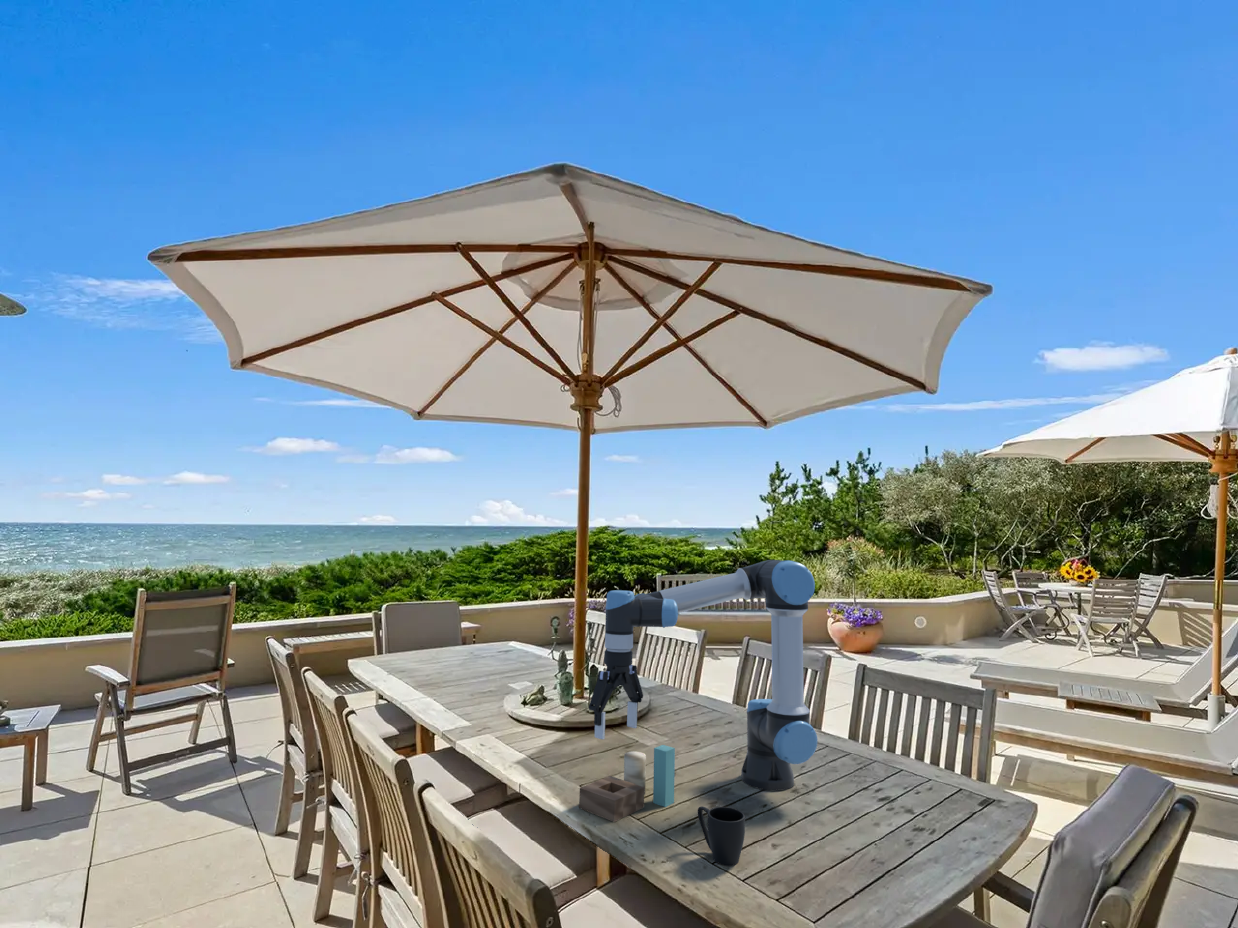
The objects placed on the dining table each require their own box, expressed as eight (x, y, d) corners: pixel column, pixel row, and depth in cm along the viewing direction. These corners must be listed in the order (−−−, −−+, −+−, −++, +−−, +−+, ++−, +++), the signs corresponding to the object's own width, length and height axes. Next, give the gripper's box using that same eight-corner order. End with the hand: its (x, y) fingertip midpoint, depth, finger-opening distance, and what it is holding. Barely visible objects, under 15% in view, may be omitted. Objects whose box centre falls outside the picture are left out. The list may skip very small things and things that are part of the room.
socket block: (609, 794, 175) (609, 775, 175) (643, 807, 167) (644, 787, 168) (579, 807, 166) (579, 787, 166) (614, 821, 158) (614, 800, 158)
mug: (711, 840, 149) (712, 797, 150) (752, 861, 140) (752, 815, 141) (687, 850, 144) (687, 806, 145) (727, 872, 135) (728, 825, 136)
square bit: (662, 798, 173) (662, 744, 175) (674, 802, 170) (674, 747, 172) (653, 802, 170) (654, 748, 172) (665, 807, 167) (666, 751, 169)
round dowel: (632, 786, 181) (633, 749, 182) (649, 792, 177) (650, 754, 178) (619, 792, 176) (620, 754, 177) (636, 798, 172) (636, 760, 174)
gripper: (635, 642, 182) (633, 720, 180) (576, 653, 163) (573, 739, 160) (656, 646, 178) (655, 725, 175) (599, 656, 158) (596, 746, 156)
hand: (616, 732), depth 168 cm, fingers open, 13 cm apart
